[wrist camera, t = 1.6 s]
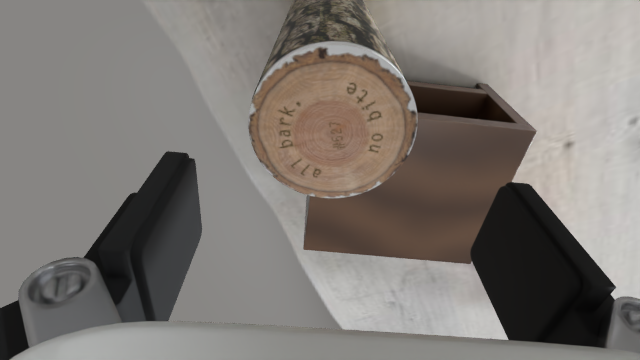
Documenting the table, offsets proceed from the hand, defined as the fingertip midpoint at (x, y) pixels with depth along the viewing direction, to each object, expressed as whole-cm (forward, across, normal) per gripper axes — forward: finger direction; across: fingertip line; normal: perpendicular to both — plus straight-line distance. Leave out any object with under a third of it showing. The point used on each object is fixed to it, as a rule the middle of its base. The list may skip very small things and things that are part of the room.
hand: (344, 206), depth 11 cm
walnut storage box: (+29, -9, +12) cm, 33 cm away
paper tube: (+30, 0, -1) cm, 30 cm away
